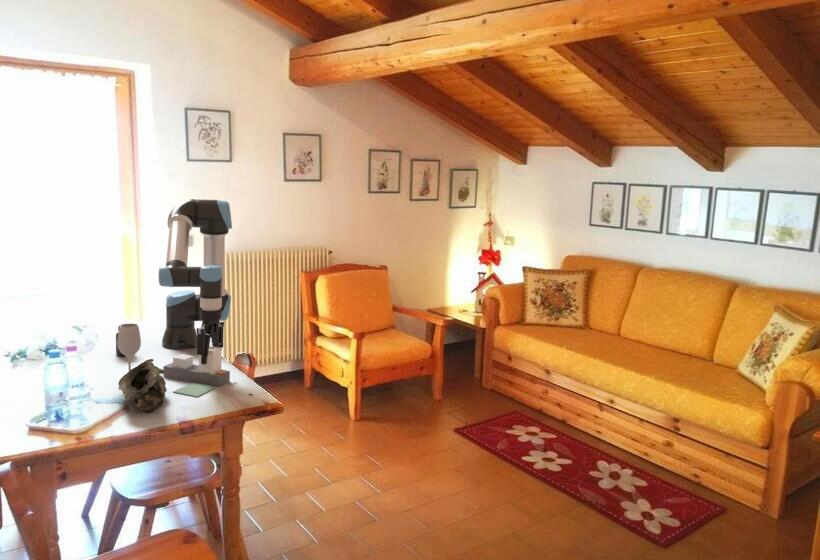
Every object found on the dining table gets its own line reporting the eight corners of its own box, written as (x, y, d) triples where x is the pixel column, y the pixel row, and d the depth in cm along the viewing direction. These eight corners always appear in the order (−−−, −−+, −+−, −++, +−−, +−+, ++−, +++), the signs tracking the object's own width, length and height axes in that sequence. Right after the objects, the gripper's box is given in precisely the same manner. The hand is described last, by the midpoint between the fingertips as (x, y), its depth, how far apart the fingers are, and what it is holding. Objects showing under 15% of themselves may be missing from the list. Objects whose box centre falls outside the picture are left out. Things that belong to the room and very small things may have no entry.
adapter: (181, 366, 243) (181, 354, 242) (192, 368, 241) (192, 356, 240) (173, 370, 238) (173, 357, 237) (184, 372, 237) (184, 359, 236)
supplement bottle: (112, 355, 259) (111, 327, 257) (122, 351, 266) (122, 323, 264) (127, 357, 258) (127, 328, 256) (137, 353, 265) (137, 324, 263)
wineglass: (136, 377, 236) (135, 321, 232) (144, 383, 231) (144, 326, 227) (115, 381, 231) (113, 324, 227) (123, 387, 225) (122, 329, 222)
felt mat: (193, 383, 233) (193, 382, 233) (216, 387, 230) (216, 386, 230) (173, 392, 223) (173, 391, 223) (197, 397, 220) (197, 396, 220)
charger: (207, 371, 239) (207, 344, 238) (221, 373, 237) (221, 346, 236) (199, 374, 235) (199, 347, 233) (212, 377, 233) (213, 350, 231)
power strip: (148, 373, 241) (148, 362, 240) (160, 368, 247) (160, 357, 247) (218, 387, 231) (218, 375, 231) (229, 381, 238) (229, 369, 237)
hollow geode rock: (149, 433, 201) (185, 397, 203) (117, 409, 195) (153, 373, 197) (146, 399, 226) (178, 368, 228) (117, 377, 220) (150, 345, 222)
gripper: (217, 302, 241) (216, 361, 245) (185, 311, 224) (185, 375, 229) (234, 305, 239) (233, 364, 243) (203, 314, 222) (203, 378, 226)
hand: (210, 369), depth 236 cm, fingers closed on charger, 5 cm apart
